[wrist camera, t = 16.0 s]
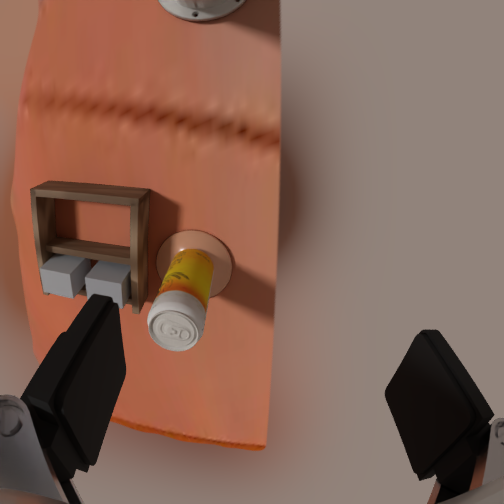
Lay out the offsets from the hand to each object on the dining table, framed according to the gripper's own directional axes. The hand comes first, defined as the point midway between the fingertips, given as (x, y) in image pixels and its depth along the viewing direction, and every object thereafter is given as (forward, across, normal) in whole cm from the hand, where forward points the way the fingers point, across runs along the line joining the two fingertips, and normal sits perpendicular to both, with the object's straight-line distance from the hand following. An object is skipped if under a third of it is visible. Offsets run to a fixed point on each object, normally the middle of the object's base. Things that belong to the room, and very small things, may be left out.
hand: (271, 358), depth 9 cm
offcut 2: (+33, +18, +18) cm, 42 cm away
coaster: (+33, +6, +15) cm, 37 cm away
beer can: (+33, +6, +15) cm, 37 cm away
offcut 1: (+33, +26, +18) cm, 46 cm away
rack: (+33, +22, +13) cm, 42 cm away
